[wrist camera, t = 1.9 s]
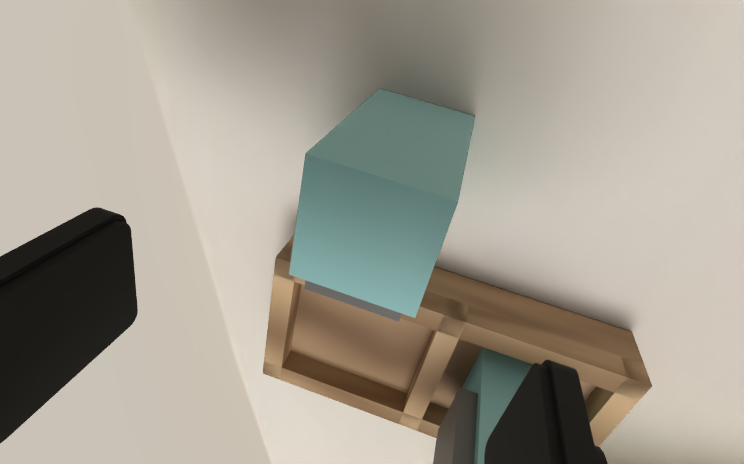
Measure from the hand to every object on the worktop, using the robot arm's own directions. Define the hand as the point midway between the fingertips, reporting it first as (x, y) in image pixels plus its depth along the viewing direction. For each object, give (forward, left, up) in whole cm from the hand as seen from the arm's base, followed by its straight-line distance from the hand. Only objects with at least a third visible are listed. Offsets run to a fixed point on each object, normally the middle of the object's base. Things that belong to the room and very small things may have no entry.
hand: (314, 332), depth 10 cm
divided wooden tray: (+9, +4, -11) cm, 15 cm away
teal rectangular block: (-1, 0, -11) cm, 11 cm away
